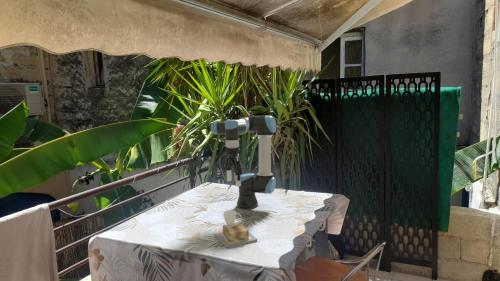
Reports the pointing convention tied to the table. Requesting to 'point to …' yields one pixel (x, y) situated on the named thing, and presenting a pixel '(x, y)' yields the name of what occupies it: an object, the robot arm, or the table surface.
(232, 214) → the cup
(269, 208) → the table surface
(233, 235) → the oak block
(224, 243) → the build board
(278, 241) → the table surface
